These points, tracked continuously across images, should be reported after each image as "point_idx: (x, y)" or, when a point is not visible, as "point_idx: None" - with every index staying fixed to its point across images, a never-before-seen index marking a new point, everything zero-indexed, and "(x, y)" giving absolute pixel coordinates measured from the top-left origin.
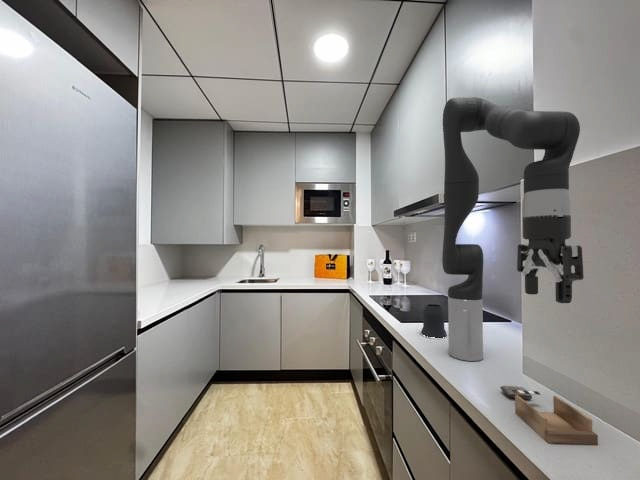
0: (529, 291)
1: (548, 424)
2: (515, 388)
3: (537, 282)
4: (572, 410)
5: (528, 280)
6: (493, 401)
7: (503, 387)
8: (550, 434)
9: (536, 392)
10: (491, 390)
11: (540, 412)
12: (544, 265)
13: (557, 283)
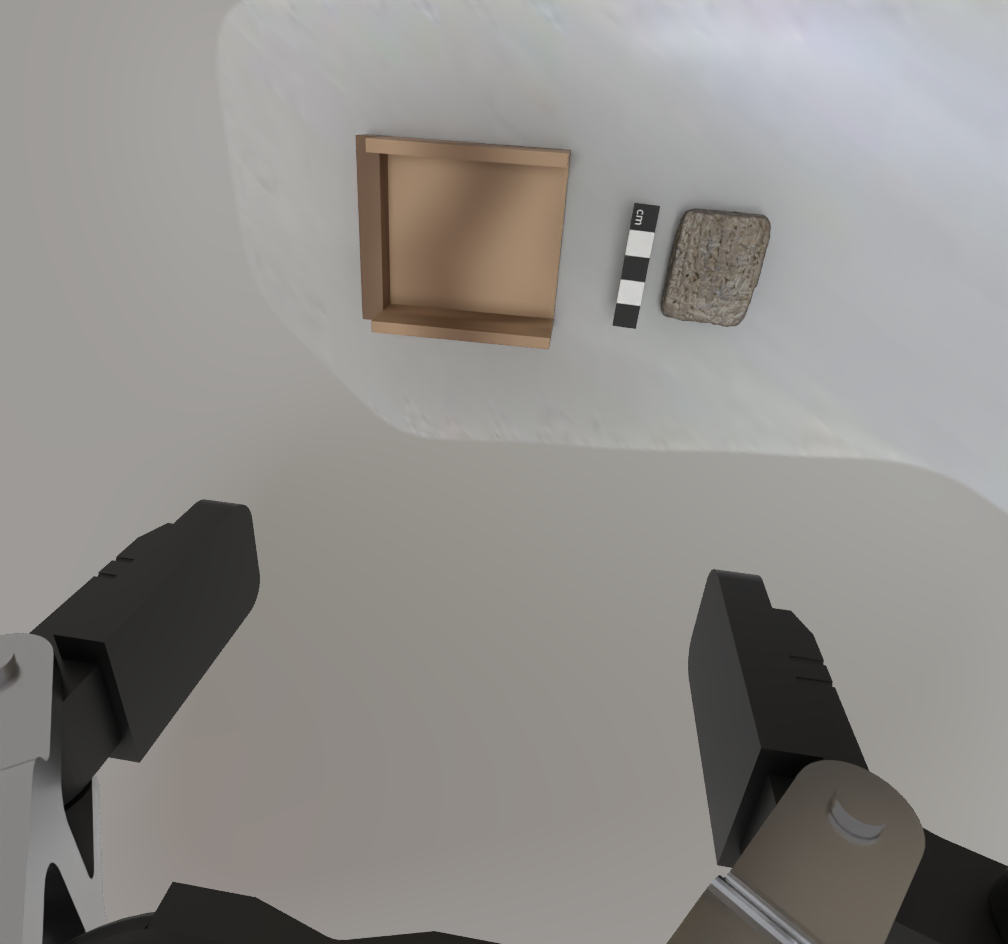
0: (713, 603)
1: (474, 227)
2: (715, 271)
3: (705, 775)
4: (449, 326)
5: (743, 709)
6: (682, 110)
7: (741, 217)
8: (357, 142)
9: (626, 316)
10: (788, 176)
11: (557, 264)
12: (217, 939)
13: (80, 627)
